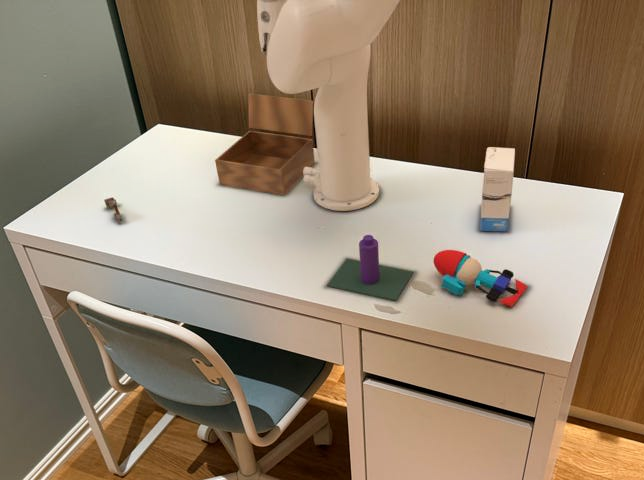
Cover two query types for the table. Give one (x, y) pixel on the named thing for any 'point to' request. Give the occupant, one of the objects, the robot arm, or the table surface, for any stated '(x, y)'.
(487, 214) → the ink box
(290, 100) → the wooden box lid
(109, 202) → the wooden post with brackets
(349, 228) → the table surface
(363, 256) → the purple bottle
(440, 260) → the toy figure
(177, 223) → the table surface
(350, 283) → the drawing mat
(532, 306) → the table surface
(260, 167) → the brown wooden open box
